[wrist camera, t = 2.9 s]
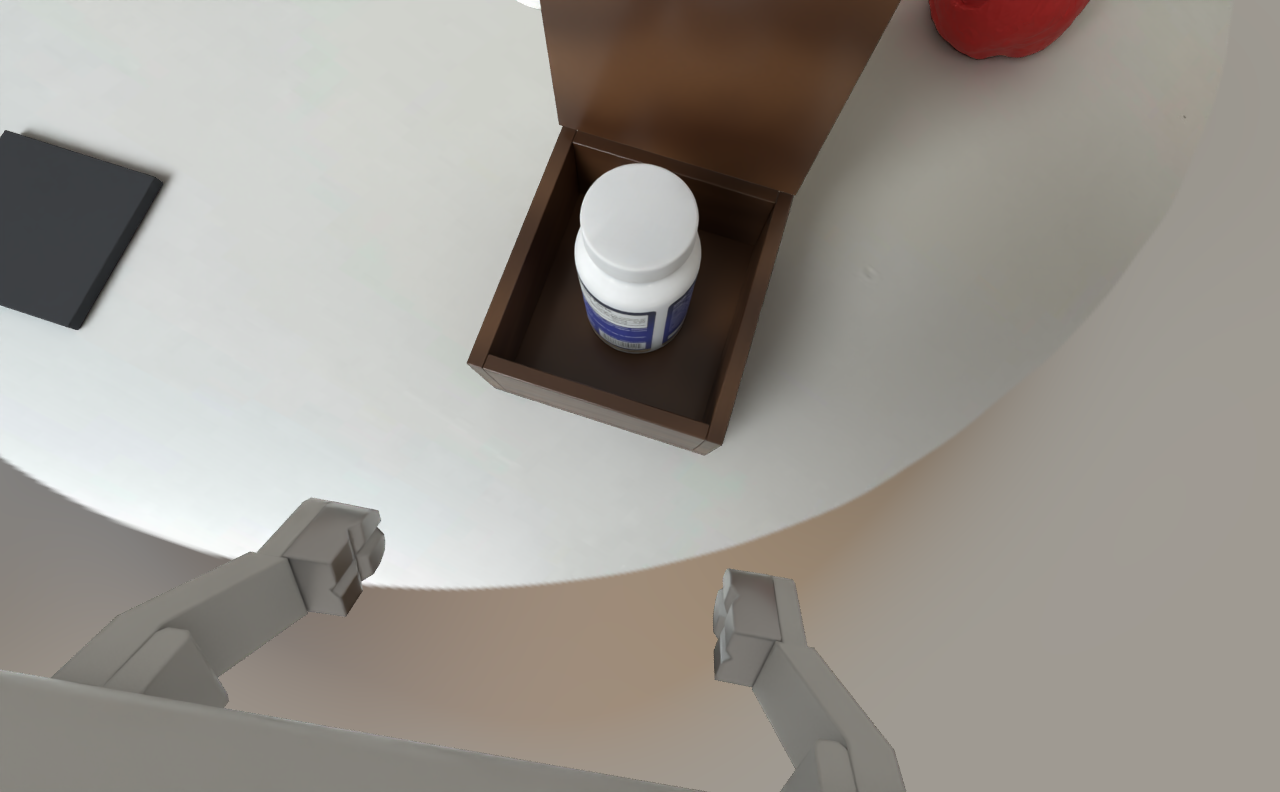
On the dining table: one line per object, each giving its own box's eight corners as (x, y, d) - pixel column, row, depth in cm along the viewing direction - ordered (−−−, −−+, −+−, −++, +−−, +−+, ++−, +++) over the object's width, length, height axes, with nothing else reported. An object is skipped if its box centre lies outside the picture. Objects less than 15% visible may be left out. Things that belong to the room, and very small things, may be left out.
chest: (705, 455, 29) (722, 446, 24) (494, 388, 29) (465, 363, 24) (766, 245, 32) (794, 194, 26) (573, 186, 32) (562, 125, 27)
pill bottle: (657, 247, 30) (671, 128, 21) (702, 329, 29) (741, 245, 20) (569, 288, 30) (542, 184, 20) (613, 373, 29) (606, 308, 19)
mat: (78, 330, 29) (67, 327, 29) (-79, 279, 30) (-93, 274, 29) (164, 182, 31) (155, 176, 31) (16, 136, 32) (4, 129, 31)
